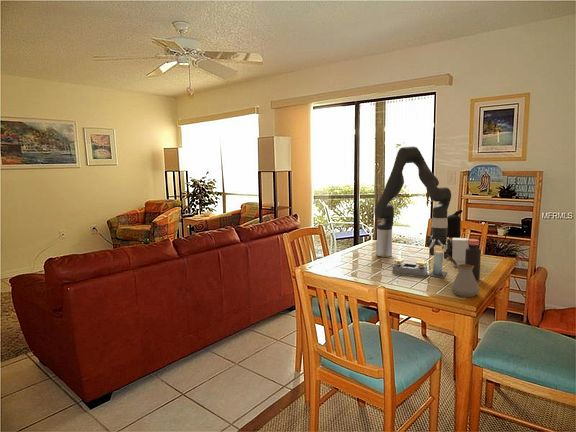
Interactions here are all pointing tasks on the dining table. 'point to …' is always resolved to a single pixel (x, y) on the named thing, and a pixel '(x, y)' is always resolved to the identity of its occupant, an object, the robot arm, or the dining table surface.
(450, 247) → the robot arm
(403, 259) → the plunger
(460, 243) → the skincare box
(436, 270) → the cartridge
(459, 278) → the coffee pot
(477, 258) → the bottle
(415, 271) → the housing
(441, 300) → the dining table surface
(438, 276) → the mat
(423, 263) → the plunger
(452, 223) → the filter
